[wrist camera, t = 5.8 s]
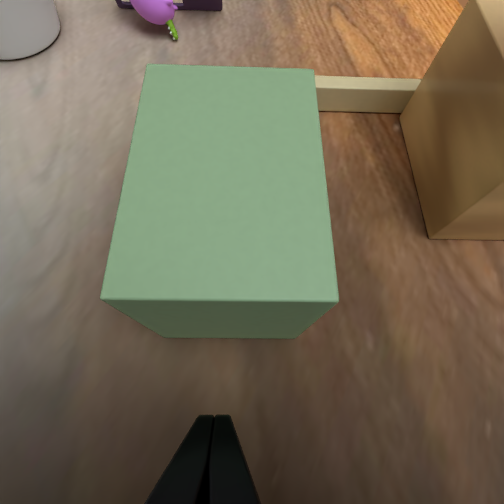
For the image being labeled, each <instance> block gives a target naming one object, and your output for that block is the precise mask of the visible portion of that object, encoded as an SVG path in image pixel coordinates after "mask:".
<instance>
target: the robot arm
mask: <svg viewBox="0 0 504 504" xmlns="http://www.w3.org/2000/svg"><path fill="white" fill-rule="evenodd" d="M144 504H261V502H260V500H259V497H258V494H257V491H256V488H255V485H254V482H253V479H252V476H251V474H250V471H249V468H248V465H247V462H246V459H245V456H244V453H243V450H242V448H241V445H240V442H239V439H238V436H237V433H236V430H235V427H234V424H233V422H232V419H231V416H230V415H228V414H227V415H216V416H215V417H214V416H213V415H199V416H198V417H197V418H196V420H195V422H194V423H193V425H192V427H191V428H190V430H189V431H188V433H187V435H186V436H185V438H184V440H183V441H182V443H181V444H180V446H179V448H178V449H177V451H176V453H175V454H174V456H173V458H172V459H171V461H170V462H169V464H168V466H167V467H166V469H165V471H164V472H163V474H162V475H161V477H160V479H159V480H158V482H157V484H156V485H155V487H154V489H153V490H152V492H151V493H150V495H149V497H148V498H147V500H146V502H145V503H144Z"/></svg>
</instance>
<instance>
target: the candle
mask: <svg viewBox="0 0 504 504" xmlns="http://www.w3.org/2000/svg"><path fill="white" fill-rule="evenodd" d="M59 31H60V21H59V17H58V13H57V10H56V7H55V3H54V0H0V59H1V60H11V59H19V58H24V57H28V56H31V55H34V54H36V53H38V52H40V51H42V50H44V49H45V48H47V47H48V46H49V45H50V44H52V43H53V41H54V40H55V39H56V38H57V36H58V34H59Z"/></svg>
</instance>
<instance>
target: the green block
mask: <svg viewBox="0 0 504 504" xmlns="http://www.w3.org/2000/svg"><path fill="white" fill-rule="evenodd" d="M100 299H101V300H103V301H104V302H106V303H108V304H109V305H111V306H113V307H114V308H116V309H117V310H119V311H121V312H122V313H124V314H126V315H127V316H129V317H131V318H132V319H134V320H136V321H137V322H139V323H141V324H142V325H144V326H146V327H147V328H149V329H151V330H152V331H154V332H156V333H157V334H159V335H161V336H162V337H164V338H277V339H295V338H296V337H298V336H299V335H300V334H301V333H302V332H303V331H305V330H306V329H307V328H308V327H309V326H311V325H312V324H313V323H314V322H315V321H317V320H318V319H319V318H320V317H321V316H322V315H324V314H325V313H326V312H327V311H328V310H330V309H331V308H332V307H333V306H334V305H335V304H337V303H338V302H339V294H338V285H337V276H336V267H335V258H334V249H333V240H332V231H331V222H330V212H329V203H328V194H327V185H326V176H325V167H324V158H323V149H322V140H321V130H320V121H319V112H318V103H317V94H316V85H315V76H314V70H313V69H295V68H264V67H233V66H203V65H172V64H147V66H146V71H145V76H144V81H143V86H142V91H141V96H140V101H139V106H138V111H137V116H136V121H135V126H134V131H133V136H132V141H131V146H130V151H129V156H128V161H127V166H126V170H125V175H124V180H123V185H122V190H121V195H120V200H119V205H118V210H117V215H116V220H115V225H114V230H113V235H112V240H111V245H110V250H109V255H108V260H107V265H106V270H105V275H104V280H103V285H102V290H101V295H100Z"/></svg>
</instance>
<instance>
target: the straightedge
mask: <svg viewBox="0 0 504 504" xmlns="http://www.w3.org/2000/svg"><path fill="white" fill-rule="evenodd" d="M421 80H422V79H402V78H371V77H339V76H315V85H316V94H317V103H318V111H345V112H380V113H402V112H403V110H404V109H405V107H406V105H407V104H408V102H409V100H410V99H411V97H412V95H413V94H414V92H415V90H416V88H417V87H418V85H419V83H420V82H421Z"/></svg>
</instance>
